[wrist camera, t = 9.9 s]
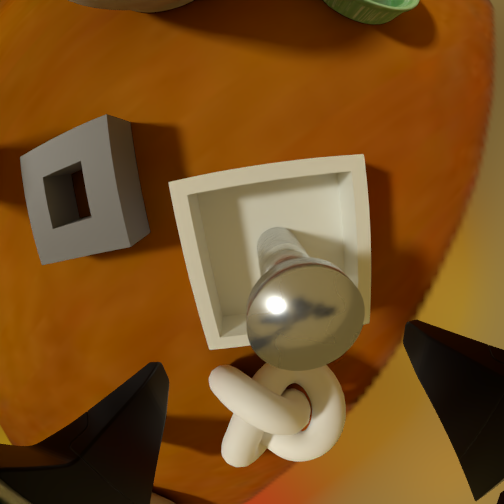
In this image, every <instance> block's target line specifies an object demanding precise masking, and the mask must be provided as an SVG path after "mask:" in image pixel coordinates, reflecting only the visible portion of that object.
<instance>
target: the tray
mask: <svg viewBox="0 0 504 504" xmlns="http://www.w3.org/2000/svg"><path fill="white" fill-rule="evenodd" d="M168 183H169V189H170V194H171V199H172V204H173V209H174V214H175V218H176V223H177V228H178V232H179V237H180V241H181V246H182V250H183V254H184V258H185V262H186V267H187V271H188V275H189V279H190V282H191V286H192V290H193V294H194V298H195V301H196V305H197V309H198V312H199V316H200V319H201V323H202V326H203V330H204V333H205V337H206V340H207V343H208V347H209V350H213V349H223V348H232V347H241V346H249V345H250V343H249V340H248V336H247V329H246V307H247V301H248V298H249V295H250V292H251V290H252V288H253V287H254V285H255V284H256V282H257V281H258V280H259V279H260V278H261V275H260V268H259V261H258V254H257V242H258V239H259V237H260V236H261V234H262V233H263V232H265V231H266V230H268V229H270V228H273V227H283V228H286V229H288V230H290V231H291V232H292V233H293V234H294V235H295V237H296V238H297V240H298V241H299V242H300V244H301V245H302V247H303V248H304V249H305V251H306V252H307V254H308V255H309V256H310V257H313V258H320V259H323V260H326V261H329V262H331V263H333V264H334V265H336V266H337V267H339V268H340V269H341V270H342V271H343V272H344V273H345V274H346V275H347V276H348V277H349V279H350V280H351V281H352V282H353V283H354V284H355V286H356V287H357V288H358V290H359V291H360V293H361V295H362V298H363V301H364V306H365V316H364V322H363V325H364V324H368V323H369V322H370V302H371V233H370V213H369V199H368V187H367V177H366V168H365V160H364V154H359V155H345V156H332V157H321V158H311V159H302V160H293V161H285V162H278V163H270V164H263V165H256V166H250V167H244V168H238V169H232V170H226V171H220V172H215V173H210V174H205V175H199V176H195V177H190V178H185V179H180V180H176V181H171V182H168Z"/></svg>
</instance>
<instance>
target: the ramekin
mask: <svg viewBox="0 0 504 504" xmlns="http://www.w3.org/2000/svg"><path fill="white" fill-rule="evenodd" d="M323 1H324V2H325V3H326V4H327V5H328V6H329V7H331V8H332V9H333V10H335V11H337V12H338V13H340V14H342V15H343V16H345V17H348V18H350V19H352V20H355V21H358V22H362V23H366V24H383V23H386V22H389V21H391V20H392V19H394V18H395V17H397V16H398V15H400V14H401V13H403V12H406V11H409V10H411V9H413V8H415V7H416V6H417V5H418V3H419V0H323Z"/></svg>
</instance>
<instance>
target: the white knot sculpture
mask: <svg viewBox="0 0 504 504" xmlns="http://www.w3.org/2000/svg"><path fill="white" fill-rule="evenodd" d="M292 383H297V384H299V385H300V386H301V387H303V389H304V390H305V391H306V393H307V394H308V396H309V399H310V402H311V407H312V418H311V422H310V424H309V426H308V428H307V429H306V430H305V431H300V430H302V429H303V428H304V427H305V426H306V425H307V424H308V422H309V418H310V412H311V408H310V404H309V401H308V400H307V398H306V396H305V394H304V393H303V392H301V391H299V390H297V389H294V388H291V389H286V387H287V386H288V385H290V384H292ZM209 384H210V388H211V390H212V391H213V393H214V394H215V395H216V396H217V397H218V399H219V400H220V401H221V402H222V403H223V404H224V405H225V406H226V407H227V408H228V409H229V410H231V411H232V412H233V415H232V418H231V420H230V423H229V425H228V428H227V430H226V433H225V435H224V438H223V441H222V445H221V453H222V457H223V458H224V459H225V461H226V462H227V463H228V464H230V465H232V466H235V467H245V466H248V465H249V464H251V463H253V462H254V461H255V460H257V459H258V458H259V457H260V456H261V455H262V453H263V452H264V451H265V450H266V449H267V448H268V449H269V450H270V451H272V452H273V453H275V454H276V455H278V456H280V457H282V458H284V459H287V460H290V461H307V460H312V459H315V458H318V457H320V456H322V455H324V454H325V453H326V452H328V451H329V450H330V449H331V448H332V447H333V446H334V445H335V443H336V442H337V441H338V439H339V437H340V435H341V433H342V431H343V427H344V423H345V416H346V405H345V398H344V394H343V391H342V388H341V385H340V383H339V381H338V379H337V378H336V376H335V374H334V373H333V372H332V371H331V369H330V368H329V367H328V366H327V365H324V366H322V367H319V368H315V369H311V370H305V371H290V370H284V369H280V368H277V367H274V366H272V365H270V364H268V363H267V362H266V363H265V364H264V365H263V366H262V367H261V368H260V369H259V370H258V371H257V372H256V373H255V375H254V376H253V377H252V378H250V377H249V376H247V375H246V374H245V373H243V372H242V371H240V370H239V369H237V368H235V367H233V366H230V365H221V366H218V367H217V368H215V369H214V370H212V372H211V374H210V377H209Z"/></svg>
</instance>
